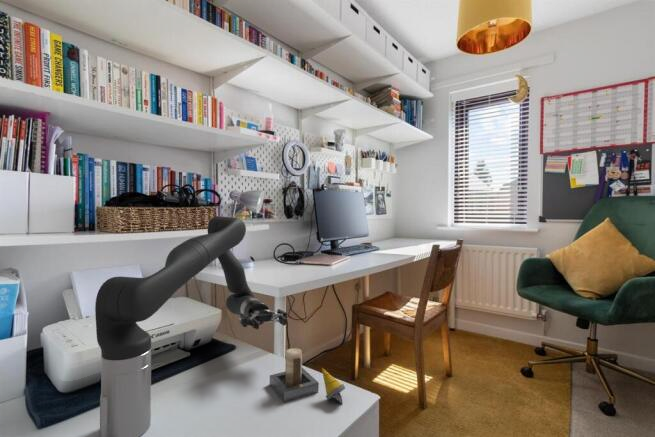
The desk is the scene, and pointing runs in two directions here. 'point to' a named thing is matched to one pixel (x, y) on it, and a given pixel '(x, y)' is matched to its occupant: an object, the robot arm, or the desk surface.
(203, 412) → the desk surface
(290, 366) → the birch shaft
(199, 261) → the robot arm
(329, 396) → the yellow spinning top
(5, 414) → the desk surface
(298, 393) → the grey square tray
